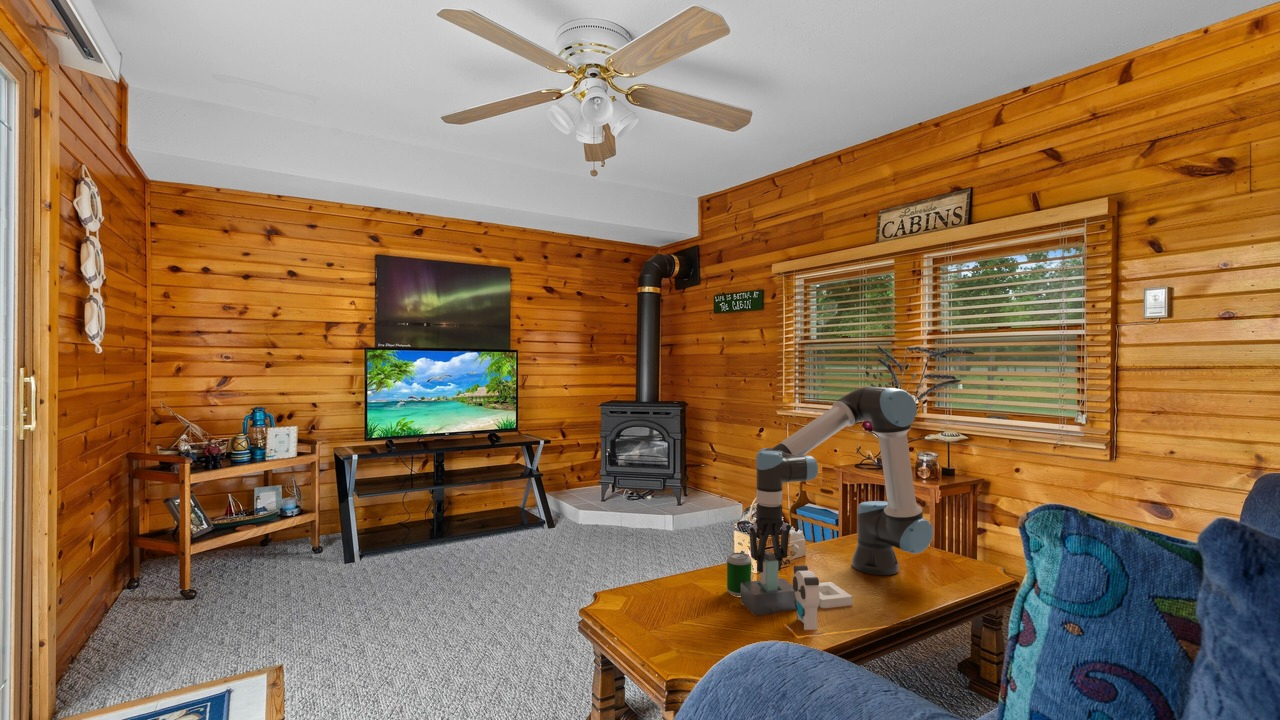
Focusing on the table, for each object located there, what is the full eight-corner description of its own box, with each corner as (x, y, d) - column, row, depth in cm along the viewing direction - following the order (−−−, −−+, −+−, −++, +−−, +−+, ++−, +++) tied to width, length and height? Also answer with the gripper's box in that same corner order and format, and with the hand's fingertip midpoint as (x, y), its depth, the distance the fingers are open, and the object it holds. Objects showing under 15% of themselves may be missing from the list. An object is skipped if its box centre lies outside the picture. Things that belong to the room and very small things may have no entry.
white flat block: (831, 591, 193) (831, 581, 193) (852, 606, 181) (852, 596, 181) (802, 594, 191) (802, 584, 191) (822, 610, 179) (822, 599, 179)
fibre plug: (770, 591, 185) (770, 550, 184) (777, 598, 180) (777, 555, 179) (760, 592, 184) (760, 551, 184) (767, 599, 179) (767, 556, 179)
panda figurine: (780, 616, 175) (780, 564, 175) (819, 615, 176) (819, 563, 175) (792, 635, 163) (792, 580, 163) (834, 634, 164) (834, 579, 163)
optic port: (783, 597, 188) (783, 578, 188) (798, 610, 179) (798, 590, 178) (740, 601, 185) (740, 582, 185) (754, 615, 175) (754, 595, 175)
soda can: (751, 599, 187) (751, 560, 187) (726, 597, 188) (726, 558, 188) (751, 590, 194) (751, 552, 194) (727, 588, 196) (727, 551, 196)
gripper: (788, 499, 187) (788, 575, 187) (738, 502, 183) (738, 579, 183) (800, 505, 180) (800, 584, 180) (748, 508, 176) (748, 589, 176)
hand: (769, 581), depth 182 cm, fingers closed on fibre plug, 3 cm apart
